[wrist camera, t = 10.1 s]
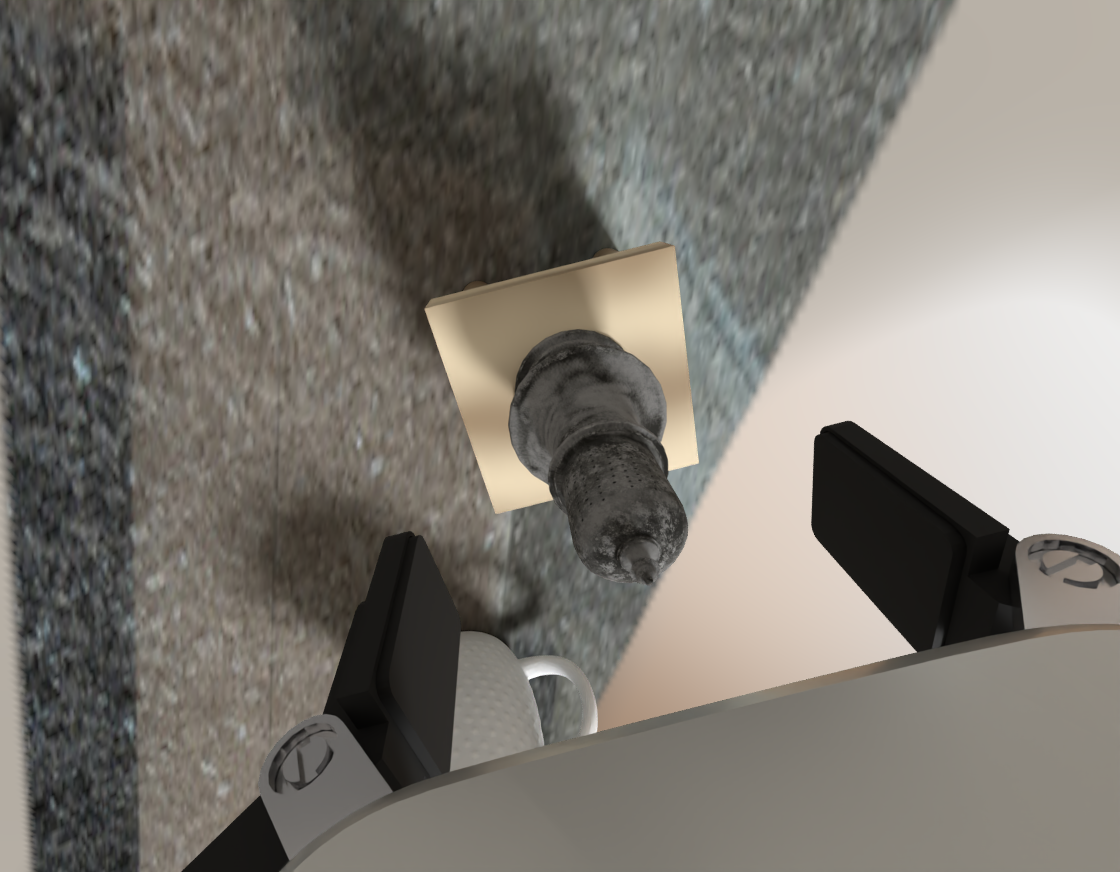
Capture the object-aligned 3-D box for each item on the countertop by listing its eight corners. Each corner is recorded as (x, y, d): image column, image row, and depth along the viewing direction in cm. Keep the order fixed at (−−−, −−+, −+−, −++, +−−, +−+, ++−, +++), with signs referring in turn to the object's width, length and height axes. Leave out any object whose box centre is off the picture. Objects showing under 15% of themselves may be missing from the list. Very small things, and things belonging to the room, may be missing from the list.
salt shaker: (489, 343, 20) (473, 508, 9) (630, 305, 20) (778, 427, 9) (528, 465, 23) (550, 705, 12) (652, 432, 23) (789, 643, 12)
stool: (445, 278, 26) (424, 308, 19) (627, 232, 26) (674, 245, 19) (497, 440, 31) (495, 513, 24) (653, 401, 31) (698, 463, 24)
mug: (559, 573, 36) (586, 754, 24) (600, 669, 41) (639, 858, 29) (369, 635, 37) (306, 840, 25) (432, 722, 42) (404, 928, 30)
